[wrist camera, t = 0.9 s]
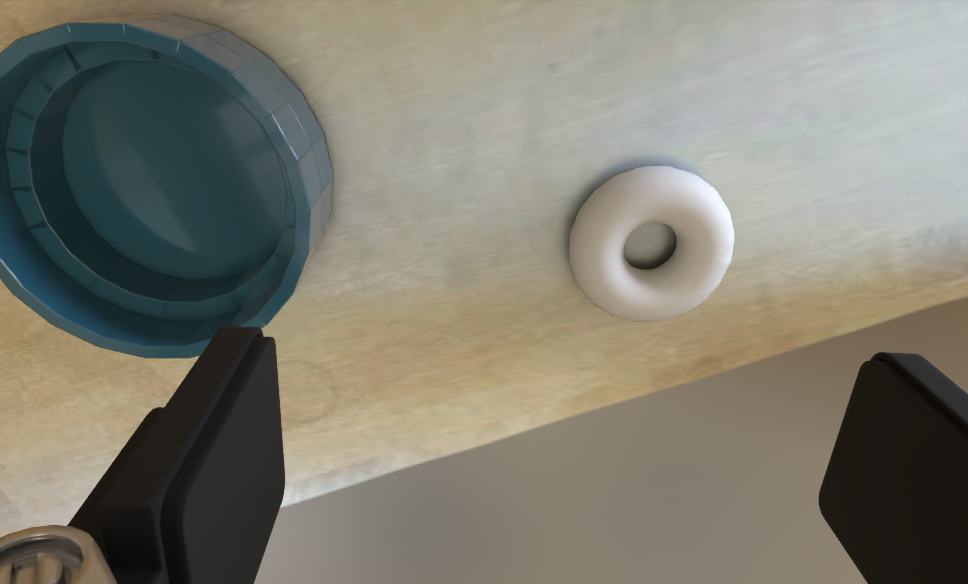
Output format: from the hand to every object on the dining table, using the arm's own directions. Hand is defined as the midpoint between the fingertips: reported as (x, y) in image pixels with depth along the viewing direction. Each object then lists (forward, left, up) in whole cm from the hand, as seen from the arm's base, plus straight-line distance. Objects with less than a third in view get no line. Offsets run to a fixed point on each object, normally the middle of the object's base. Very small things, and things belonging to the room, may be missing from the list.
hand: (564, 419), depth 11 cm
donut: (+6, +12, -32) cm, 35 cm away
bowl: (+10, -16, -32) cm, 37 cm away
